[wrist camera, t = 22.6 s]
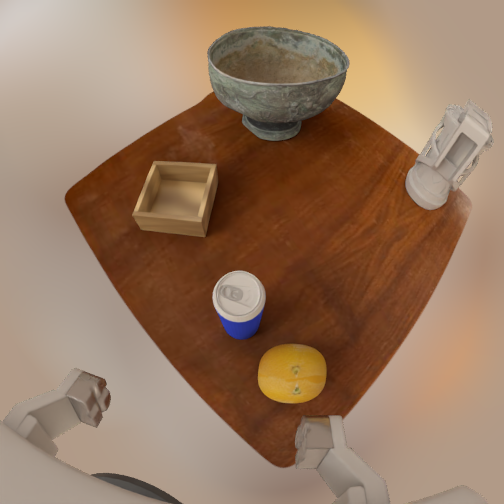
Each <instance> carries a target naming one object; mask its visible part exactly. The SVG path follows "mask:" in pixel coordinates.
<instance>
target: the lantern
mask: <svg viewBox="0 0 504 504" xmlns="http://www.w3.org/2000/svg"><path fill="white" fill-rule="evenodd" d="M442 127H444V128H443V130H442V131H441V133H440V134H439V136H438V137H437V139H435V138H436V133H437V131H438V130H439V129H440V128H442ZM490 132H492V123H491V119H490V117H489V115H488V114H487V113H486V112H485V111H484V110H482V109H480V108H479V107H478V106H477V105H476V104H475V103H474V102H472V101H471V100H470V99H468V101H467V103H466V105H465V107H464V109H463V108H462V107H461V106H459V105H458V106H456V105H451V104H449V105H448V107H447V108H446V111H445V115H444V117H443V118H442V120H441V122H440V123H439V124H438V125H437V127H436V128H435V129H434V131H433V133H432V136H431V137H430V139H429V141H428V142H427V144H426V146H425V147H424V149H423V151H422V152H421V154H419V156H418V157H417V159H416V164H415V165H414V166H413V167H412V168H411V169H410V170H409V172H408V174H407V177H406V182H405V185H406V189H407V192H408V194H409V195H410V197H411V198H412V199H413V200H414V201H415V202H416V203H417V204H418V205H419V206H421V207H423V208H425V209H428V210H434V209H437V208H439V207H441V206H442V205H443V204H444V203H445V202H446V201H447V197H448V194H449V191H450V190H452V191H456V190H457V189H458V188H459V186H460V185H461V184H462V183H463V182H464V181H465V179H466V178H467V177H468V176H469V175H470V173H471V172H472V171H473V170H474V168H475V167H476V165H477V164H478V160H479V155H481V154H482V153H483V152H484V150H485V151H487V150H489V149H490V148H491V147H492V145H493V143H494V142H493V138H492V136H491V134H490ZM430 145H431V148H430V150H429V151H428V153H427V155H426V156H424V155H425V154H426V152H427V150H428V149H429V147H430ZM472 161H473V164H472V167H471V168H469V169H466V168H467V167H468V166H469V165H470V163H471V162H472ZM460 176H464V177H463V178H462V179H461V180H460V182H458V181H457V179H458V178H459V177H460Z"/></svg>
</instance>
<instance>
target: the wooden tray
mask: <svg viewBox="0 0 504 504" xmlns="http://www.w3.org/2000/svg"><path fill="white" fill-rule="evenodd" d="M217 186H218V174H217V165H216V164H204V163H188V162H166V161H154V162H153V165H152V167H151V169H150V172H149V174H148V177H147V179H146V181H145V184H144V186H143V189H142V191H141V194H140V196H139V199H138V202H137V204H136V207H135V210H134V212H133V217H134V219H135V220H136V222H137V224H138V225H139V227H140V228H141V230H148V231H157V232H166V233H174V234H183V235H192V236H200V237H206V232H207V228H208V223H209V219H210V215H211V211H212V206H213V202H214V198H215V194H216V190H217Z"/></svg>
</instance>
